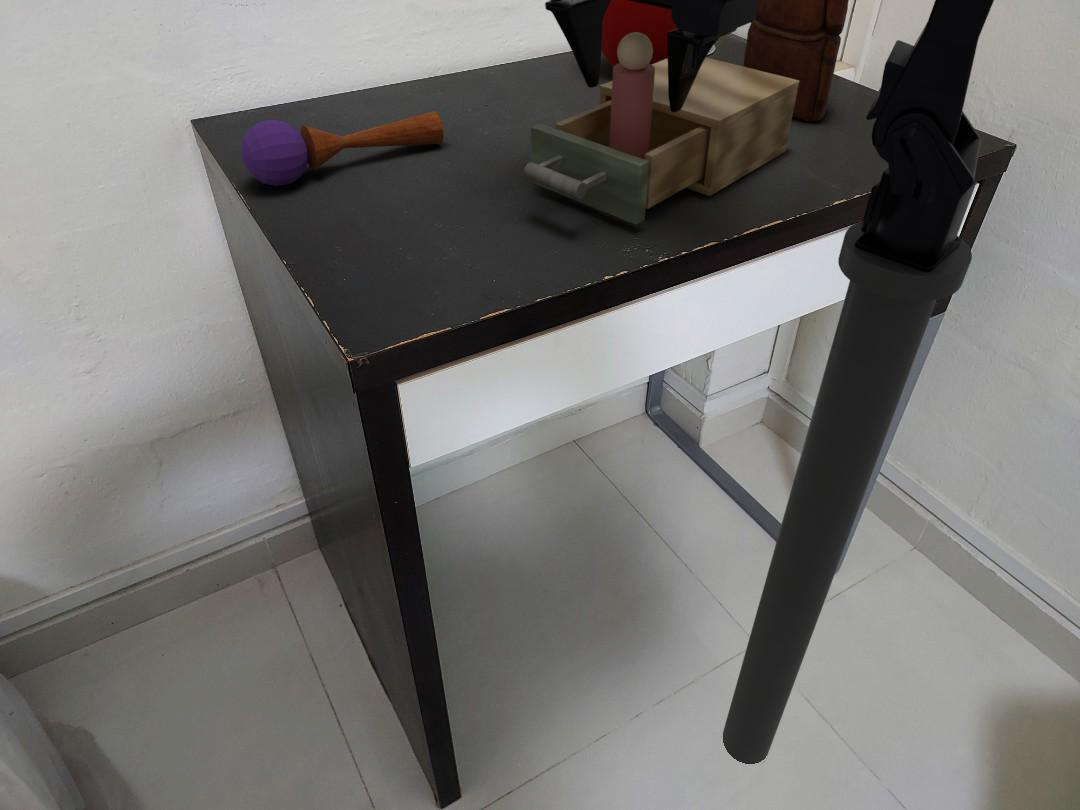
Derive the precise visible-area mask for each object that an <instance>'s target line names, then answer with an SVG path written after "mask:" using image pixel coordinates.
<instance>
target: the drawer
mask: <svg viewBox="0 0 1080 810" xmlns="http://www.w3.org/2000/svg"><path fill="white" fill-rule="evenodd" d="M611 101H612V100H610V101H607V102H605V103H603V104H600V103H599V104H598V105H595V106H593V107H591V108H588V109H587V110H586V109H585V110H584V111H581V112H579V113H577V114H574V115H572V116H570V117H568V118H565V119H562V120H560V121H557V122H556V123H555V128H554V127H552V126H549V125H546V124H543V123H541V122H539V123H537V124H535V125H532V126H530V152H531V154H530V155H531V156H530V157H531V162H528V163H527V164H526V165H525V167H524V169H523V175H524V177H525V178H526V179H528V180H530V181H531V183H532V184H534V185H537V186H540V187H542V188H544V189H546V190H549V191H552V192H554V193H556V194H558V195H562V196H564V197H566V198H569V199H572V200H574V201H577V202H579V203H581V204H584V205H586V206H589V207H591V208H594V209H596V210H598V211H601V212H603V213H605V214H608V215H610V216H614V217H616V218H618V219H620V220H623V221H626V222H628V223H631V224H633V225H635V226H637V225H639V224H641V223H642V222H644V221H646V220H645V219H646V209H648V210H649V209H650V208H652V207H654V206H656V205H657V204H659V203H662V202H663V201H664V200H666V199H668V198H670V197H672V196H675V194H677V193H679V192H680V191H682V190H684V189H687V188H686V187H688V186H690V185H691V184H693V183H695V182H697V181H698V180H700V179H702V178H704V177H705V171H706V163H707V155H708V147H709V140H710V132H711V127H709V126H705V125H702V124H699V123H695V122H692V121H689V120H686V119H682V118H679V117H676V116H672V115H669V114H666V113H662V112H659V111H656V110H653V109H652V117H651V130H650V142H649V152H648V153H646V154H645V160H644V159H641V158H638V157H635V156H632V155H629V154H627V153H624V152H621V151H618V150H615V149H612V148H609V147H610V124H611Z"/></svg>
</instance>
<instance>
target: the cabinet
mask: <svg viewBox="0 0 1080 810" xmlns="http://www.w3.org/2000/svg"><path fill="white" fill-rule="evenodd" d="M652 65H653V66H654V67H655V78H654V91H653V104H652V109H653V110H656V111H659V112H662V113H666V114H669V115H672V116H676V117H679V118H682V119H686V120H689V121H692V122H695V123H699V124H702V125H705V126H709V127H711V132H710V140H709V147H708V155H707V163H706V171H705V177H704V178H702V179H700V180H698V181H697V182H695V183H693V184H691V185H690V186H688V187H686V188H685V189H688V190H690V191H693V192H696V193H699V194H701V195H703V196H704V195H705V196H707V197H711V196H713V195H714V194H716V193H718V192H719V191H721V190H723V189H725V188H727V187H728V186H730V185H731V184H733V183H735V182H736V181H738V180H740V179H741V178H743V177H745V176H747V175H748V174H750V173H751V172H754V171H755V170H756V169H759V168H761V167H763V166H764V165H765V164H768V163H769V162H770V161H772V160H774V159H775V158H777V157H779V156H781V155H783V154H784V153H786V151H787V146H788V145H787V144H788V140H789V135H790V130H791V126H792V121H793V116H792V115H793V110H794V105H795V100H796V95H797V89H798V85H799V80H795V79H791V78H787V77H783V76H779V75H775V74H771V73H767V72H763V71H759V70H755V69H751V68H747V67H743V66H744V65H743V66H742V65H740V64H739V65H738V64H735V63H730V62H727V61H722V60H718V59H715V58H710V57H706V58H705V60H704V61H703V63H702V65H701V67H700V70H699V72H698V74H697V76H696V78H695V80H694V83H693V85H692V87H691V89H690V91H689V93H688V96H687V98H686V100H685V102H684V104H683V107H682V108H681V110H679V111H677V112H675V113H674V112H671V110H670V104H669V96H668V58H667V59H665V60H662V61H660V62H657V63H655V64H652ZM610 100H612V80H610V81H607V82H605V83H602V84H600V85H599V105H600V104H603V103H605V102H607V101H610Z"/></svg>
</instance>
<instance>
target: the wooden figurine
mask: <svg viewBox="0 0 1080 810" xmlns="http://www.w3.org/2000/svg"><path fill="white" fill-rule="evenodd" d="M849 2H850V0H758V2H757V9H756V15H755V21H753V22H751V23H750V25H749V27H748V29H747V35H746V36H747V37H746V44H745V49H744V55H743V67H747V68H751V69H755V70H759V71H763V72H767V73H771V74H775V75H779V76H783V77H787V78H791V79H795V80H799V85H798V89H797V95H796V100H795V105H794V110H793V115H792V118H796V119H799V120H802V121H805V122H819V121H821V120H822V119H823V118H824V116H825V114H826V111H827V107H828V103H829V98H830V93H831V90H832V89H831V88H832V83H833V78H834V74H835V70H836V63H837V60H838V54H839V51H840V46H841V44H842V43H841V42H842V37H841V34H842V33H843V31H844V28H845V23H846V20H847V19H846V18H847V14H848V10H849Z"/></svg>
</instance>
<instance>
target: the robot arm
mask: <svg viewBox="0 0 1080 810" xmlns="http://www.w3.org/2000/svg"><path fill="white" fill-rule="evenodd" d="M628 1H632V2H637V3H642V4H647V5H651V6H656V7H661V8H665V9H670V10H672V11H671V18H672V19H673V21H674V23H675V24H676V26H677V28H678V29H675V30H672V31H670V32H667V53H668V96H669V104H670V110H671V112H674V113H675V112H677V111H679V110H681V108H682V107H683V104H684V102H685V100H686V98H687V96H688V93H689V91H690V89H691V87H692V85H693V83H694V80H695V78H696V76H697V74H698V72H699V70H700V67H701V65H702V63H703V61H704V60H705V58H707V56H708V54H709V53H710V51H711V49H712V48H713V46H714V45H715V44H716V43H717V42H718V40H719V39H720V38H723V37H724V36H727V35H730V34H732V33H734V32H736V31H737V29H739V28H741V27H743V26H745V25H748V24H751V22H753V21H755V15H756V9H757V2H758V0H628ZM994 1H995V0H934V3H933V5H932V8H931V11H930V14H929V17H928V19H927V22H926V23H925V25H924V27H923V29H922V31H921V32H920V34H919V36H918V38H917V39H916V41H915V43H914V45H913V44H910V43H908V42H905V41H902V40H900V39H899V40H896V41H895V43H894V45H893V48H892V49H891V51H890V53H889V54H888V57H887V59H886V61H885V63H884V67H883V73H882V77H881V83H880V84H881V85H880V88H879V89H878V92H877V93H876V96H875V98H874V100H873V102H872V104H871V106H870V108H869V110H868V113H867V114H866V117H865V118H866V120H867V121H871V120H874V119H875V121H874V124H873V126H872V132H871V142H872V146H873V147H874V148H875V151H876V152H877V154H878V156H879V157H880V158H881V159H882V160H883V161H885V162H886V163H887V164H888V165H887V166H888V167H887V168H886V169H884V170H883V171H882V173H881V178H880V180H879V181H878V182H877V183H876V184H875V185H873V186H872V187H871V190H870V193H869V197H868V201H867V203H866V208H865V210H864V211H865V212H864V215H863V219H862V221H863V222H862V226H861V231H862V232H864V233H865V234H863V235H862V236H861V237H860V238H858V239H857V240H856V242H855V247H856V248H859V249H861V250H864V251H867V252H870V253H872V254H875V255H878V256H881V257H884V258H886V259H889V260H892V261H895V262H898V263H900V264H903V265H906V266H909V267H912V268H914V269H917V270H920V271H923V272H931V271H933V270H934V269H935V268H936V267H937V266H938V265H939V264H940V263H941V262H942V261H943V260H944V259H946V258H947V257H948V256H949V255H950V254H951V253H952V252H953V251H954V250H955V249H956V248H957V247H958V246H959V245H960V243H961V239H962V238H961V237H960V238H961V239H960V238H958V237H959V236H958V234H959V231H960V229H961V226H962V223H963V220H964V218H965V215H966V212H967V210H968V207H969V204H970V201H971V199H972V196H973V193H974V190H975V188H976V186H977V180H975V176H976V171H977V165H978V160H979V155H980V148H981V143H982V138H981V136H980V135H979V133H978V131H977V130H976V129H975V127H974V126H973V124H972V122H971V121H970V119H969V118H968V117H967V115H966V114H965V112H964V106H965V102H966V97H967V93H968V88H969V83H970V78H971V76H972V70H973V65H974V61H975V57H976V51H977V47H978V43H979V38H980V36H981V34H982V30H983V28H984V26H985V23H986V21H987V20H988V19H987V18H988V17H989V14H990V11H991V9H992V7H993V4H994ZM610 2H611V0H547V1H546V2H545V3H544V7H545V10H546V11H549V12H551V13H552V15H553V17H554V19H555V21H556V23H557V24H558V26H559V29H560V30H561V32H562V34H563V35H564V37H565V40H566V41H567V43H568V45H569V47H570V50H571V52H572V54H573V56H574V58H575V61H576V64H577V66H578V67H579V70H580V72H581V74H582V77H583V79H584V81H585V84H586V85H587V87H588V88H590V89H593V88H595V87H597V86H599V83H600V77H601V76H600V75H601V71H602V70H601V69H602V29H603V18H604V15H605V13H606V11H607V8H608V6H609V4H610ZM957 236H958V237H957Z"/></svg>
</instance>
